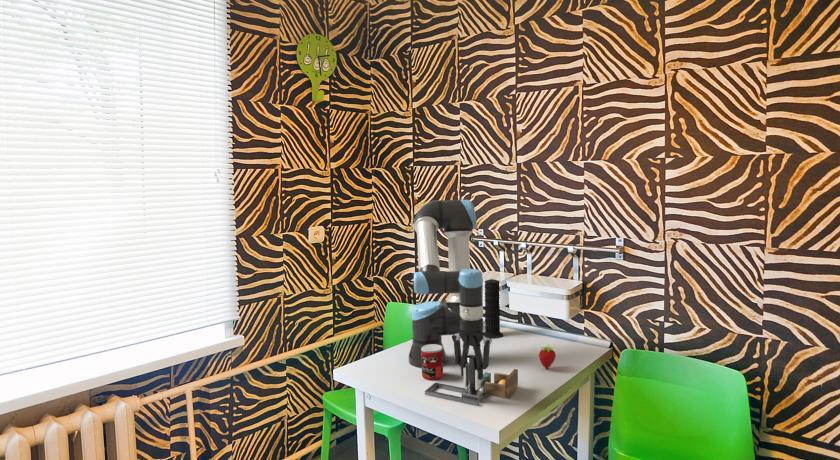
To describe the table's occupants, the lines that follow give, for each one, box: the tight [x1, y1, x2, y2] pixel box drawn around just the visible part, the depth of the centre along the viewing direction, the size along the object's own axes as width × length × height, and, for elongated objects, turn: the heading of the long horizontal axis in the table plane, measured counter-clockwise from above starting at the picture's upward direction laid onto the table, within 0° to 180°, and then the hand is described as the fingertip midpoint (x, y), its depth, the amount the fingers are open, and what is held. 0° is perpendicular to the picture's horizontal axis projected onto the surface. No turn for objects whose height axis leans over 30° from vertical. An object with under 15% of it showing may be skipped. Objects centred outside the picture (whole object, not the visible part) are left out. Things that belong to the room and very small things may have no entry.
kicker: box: [460, 354, 492, 402], centre depth 165 cm, size 6×14×14 cm, turn 151°
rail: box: [424, 382, 488, 407], centre depth 164 cm, size 19×8×1 cm, turn 61°
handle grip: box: [483, 278, 504, 339], centre depth 226 cm, size 10×26×10 cm
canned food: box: [421, 344, 444, 381], centre depth 180 cm, size 8×8×11 cm
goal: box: [484, 368, 519, 400], centre depth 166 cm, size 8×10×6 cm
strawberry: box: [538, 343, 557, 370], centre depth 184 cm, size 6×8×10 cm
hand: (472, 386), depth 161 cm, fingers closed on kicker, 3 cm apart
